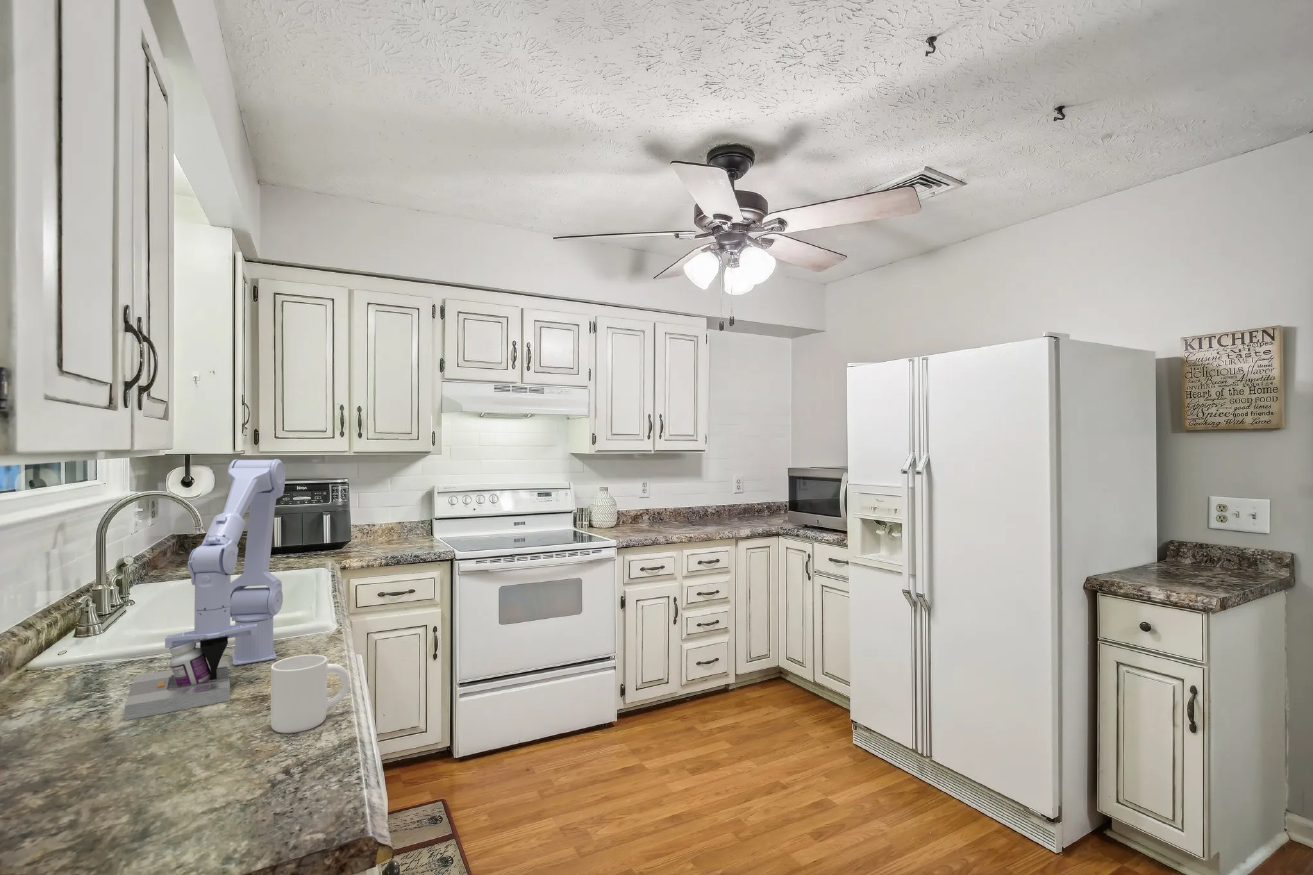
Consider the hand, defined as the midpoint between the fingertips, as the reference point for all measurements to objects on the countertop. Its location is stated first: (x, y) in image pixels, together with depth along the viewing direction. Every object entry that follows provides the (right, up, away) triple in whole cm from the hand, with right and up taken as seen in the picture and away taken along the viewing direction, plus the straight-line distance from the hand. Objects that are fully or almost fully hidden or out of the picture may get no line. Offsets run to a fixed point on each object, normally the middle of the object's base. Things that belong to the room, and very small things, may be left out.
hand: (212, 678), depth 124 cm
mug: (+27, -2, -14) cm, 30 cm away
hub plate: (-4, -2, -2) cm, 5 cm away
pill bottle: (-2, -2, -1) cm, 3 cm away
